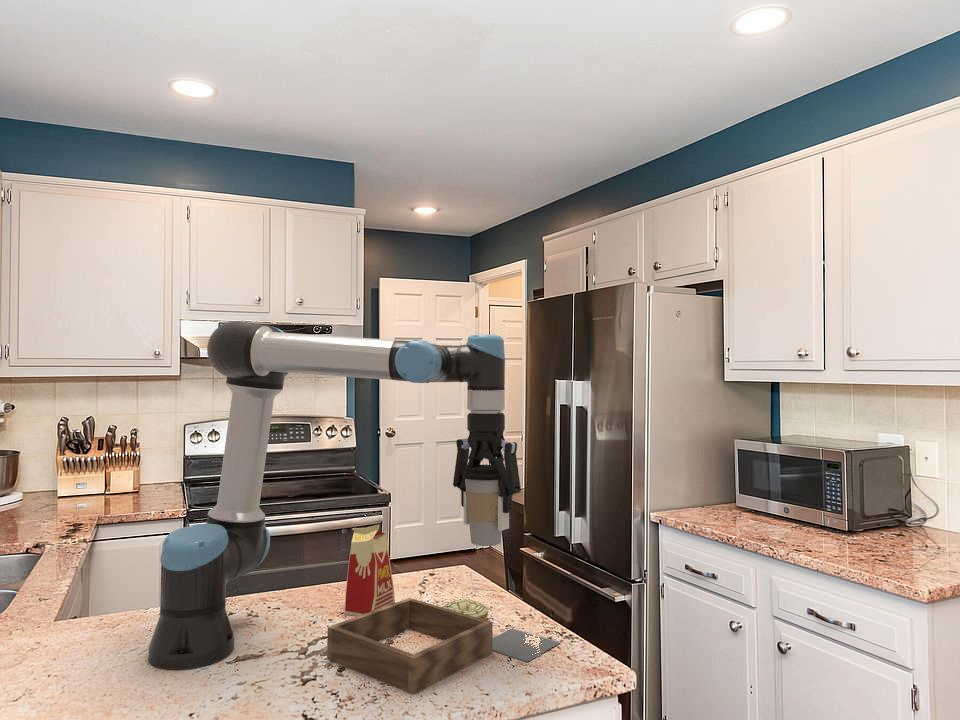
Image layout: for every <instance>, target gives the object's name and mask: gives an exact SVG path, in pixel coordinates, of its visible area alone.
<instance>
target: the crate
mask: <svg viewBox="0 0 960 720" xmlns="http://www.w3.org/2000/svg"><path fill="white" fill-rule="evenodd" d="M493 627H494V625H493V621H490V620H487V619H486V620H484V619H480V618H477V617H473V616H470V615H467V614H463V613H460V612H456V611H453V610H449V609H446V608H443V606H439V605H435V604H432V603H428V602H425V601H422V600H418V599H415V598H412V597H408V598H405V599H403V600H399V601H397V602H395V603H394V604H391V605H388V606H385V607H382V608H380V609H377V610H374V611H371V612H368V613H366V614H363V615H360V616H353V617H352V618H350V619H349V618H348V619H346V620H343V621H340V622H339V623H335V624H332V625H329V626H327V637H326V638H327V639H326V640H327V641H326V643H327V644H326V649H327V651H326V659H327V661H331V662H333V663H336V664H338V665H340V666H343V667H345V668H347V669H351V670H352V671H355V672H356V673H357V672H358V673H360V674H363V675H365V676H368V677H370V678H371V679H375V680H377V681H380V682H382V683H384V684H387V685H389V686H392V687H394V688H396V689H399V690H401V691H404V692H407V694H408V693H409V694H411V695H415V694H417V693H419V692H420V691H422V690H425V689H427V688H428V687H430V686H432V685H435V684H436V683H437V682H440V681H442V680H443V679H446V678H447V677H449V676H451V675H453V674H455V673H457V672H458V671H459V672H460V671H461V670H462V669H464V668H466V667H469V666H470V665H472V664H474V663H476V662H478V661H480V660H481V659H482V660H483V659H484V658H486V657H487V655H488V656H489V655H492V654H493V651H492V638H493V632H494V631H493V629H494V628H493ZM408 630H412V631H415V632H417V633H421V634H423V635H426V634H427V635H428V636H429V635H430V637H432V636H433V638H435V639H438V640H439V639H440V640H441V642H437V643H436V644H433V645H431V646H429V647H427V648H424V649H422V650H420V651H418V652H415V653H414V654H413V653H410V652H408V651H406V650H402V649H399V648H397V647H394V646H391V645H389V644H386V643H383V642H381V641H383V640H385V639H388V638H390V637H393V636H394V635H398V634H400V633H403V632H405V631H408Z"/></svg>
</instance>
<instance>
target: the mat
mask: <svg viewBox="0 0 960 720" xmlns="http://www.w3.org/2000/svg"><path fill="white" fill-rule="evenodd" d="M527 633H528V632H525V631H523V630H519V629H515V628H510V629H508V630H506V631H504V632H502V633H500V634H498V635H496V636H494V637H492V652H494V653H497V654H500V655H503V656H506V655H507V657H509V656H510V658H512V657H513V658H512V659H515V658H517V659H516V660H518V659H519V661H521V660H523V661H522V662H524V661H526V662H525V663H527V662H528V661H530V660H531V661H533V660H534V659H533V658H535V657H536V658H538V657H539V656H538V655H540V654H542V653H543V652H545V651H547V650H548V651H550V650H552V649H553V648H552V647H554V648H556V647H557V646H559V645H560V644H561V642H560V641H556V640H552V639H549V638H546V637H543V636H539V635H538V636H539V638H540V640H541V641H540V643H539V648H537V647H538V646H537V647H534V646H535V645H533V646H531V645H532V644H533V643H532V644H529V643H525V641H526V639H525V638H526V637H525V634H526V635H527V637H529V635H530V636H533V635H534V634H533V635H532V633H529V634H527ZM537 638H538V637H537ZM523 639H524V640H523ZM542 639H543V640H542ZM529 642H530V640H529ZM524 643H525V644H524ZM536 643H537V642H536ZM541 643H542V645H540V644H541ZM528 644H529V645H528ZM558 644H559V645H558ZM556 645H557V646H556ZM533 647H534V648H533ZM536 648H537V649H536ZM551 648H552V649H551ZM538 649H540V650H538ZM549 649H550V650H549ZM537 650H538V651H537ZM539 651H540V652H539ZM548 651H547V652H548ZM537 652H539V653H537ZM535 653H536V654H535ZM545 653H546V652H545ZM532 654H533V655H532ZM543 654H544V653H543ZM543 654H542V655H543ZM537 656H538V657H537ZM540 656H541V655H540ZM536 658H535V659H536ZM532 659H533V660H532ZM531 661H530V662H531ZM528 663H529V662H528Z"/></svg>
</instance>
